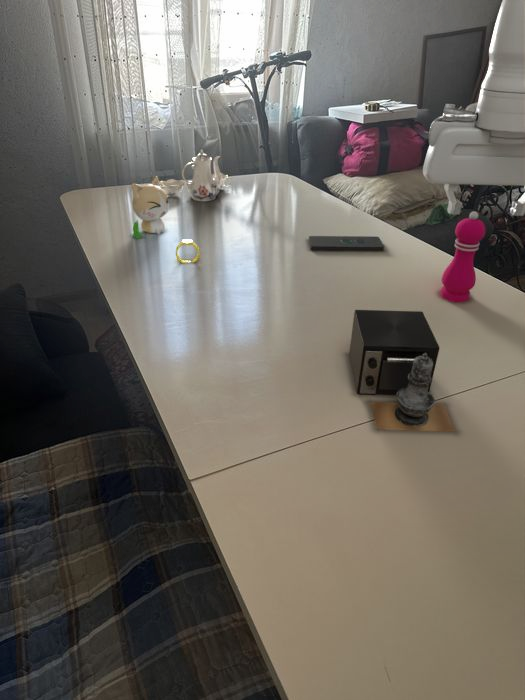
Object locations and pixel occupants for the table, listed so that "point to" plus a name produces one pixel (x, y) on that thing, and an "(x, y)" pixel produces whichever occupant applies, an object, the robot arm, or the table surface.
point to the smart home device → (345, 243)
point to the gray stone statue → (416, 394)
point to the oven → (388, 349)
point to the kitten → (149, 207)
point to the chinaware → (198, 180)
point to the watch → (187, 242)
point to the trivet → (388, 421)
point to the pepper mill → (463, 260)
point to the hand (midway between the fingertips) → (484, 213)
